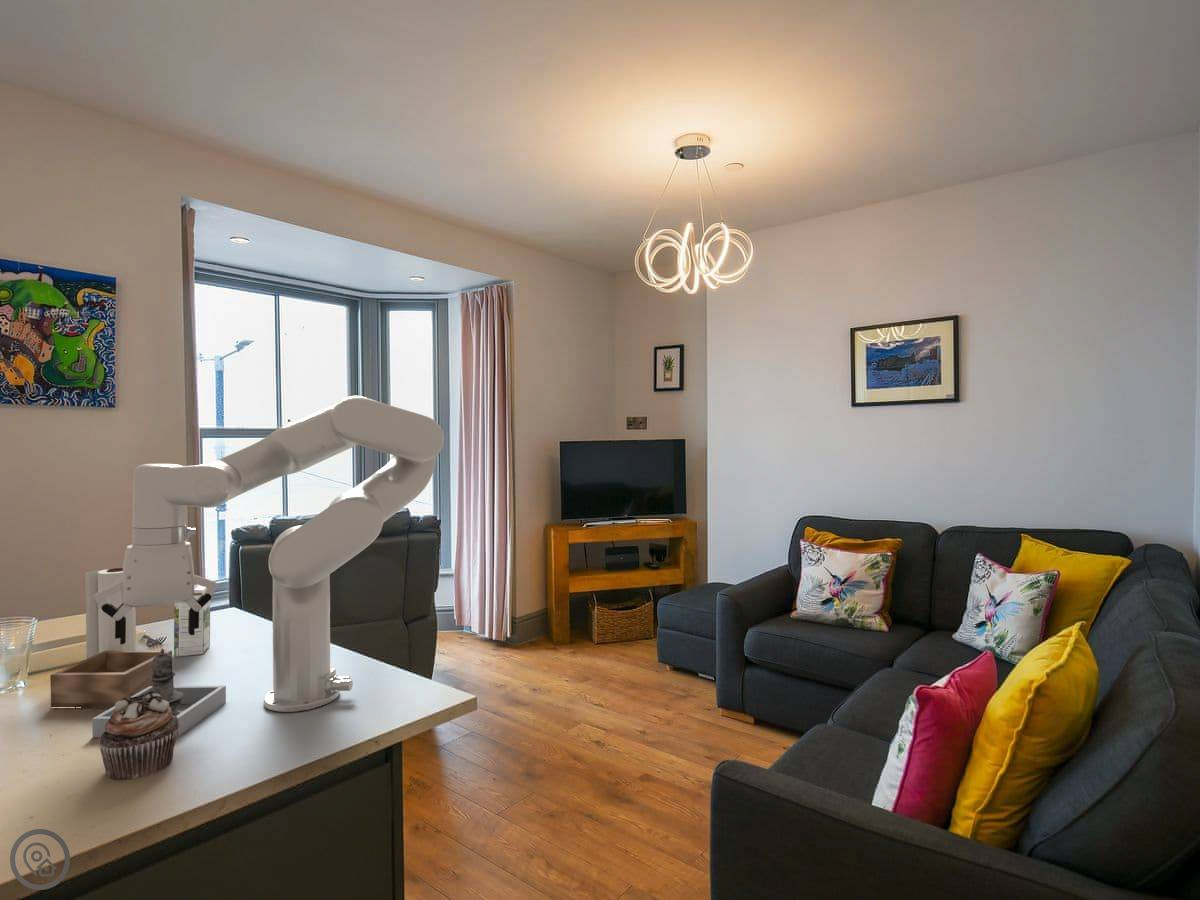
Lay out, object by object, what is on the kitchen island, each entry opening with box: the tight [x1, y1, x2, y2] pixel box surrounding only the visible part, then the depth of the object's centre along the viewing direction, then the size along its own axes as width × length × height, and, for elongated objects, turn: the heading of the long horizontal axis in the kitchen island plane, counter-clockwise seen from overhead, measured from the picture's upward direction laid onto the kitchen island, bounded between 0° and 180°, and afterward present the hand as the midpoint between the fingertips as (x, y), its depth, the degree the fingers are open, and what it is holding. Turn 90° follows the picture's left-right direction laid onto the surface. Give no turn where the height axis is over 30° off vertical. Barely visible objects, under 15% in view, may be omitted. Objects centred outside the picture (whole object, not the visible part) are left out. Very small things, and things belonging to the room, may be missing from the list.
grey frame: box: [91, 685, 227, 738], centre depth 111 cm, size 14×14×3 cm
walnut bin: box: [49, 649, 173, 709], centre depth 122 cm, size 13×13×6 cm
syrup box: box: [173, 584, 211, 657], centre depth 146 cm, size 6×6×14 cm
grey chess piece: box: [150, 648, 184, 716], centre depth 111 cm, size 6×6×12 cm
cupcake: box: [98, 691, 180, 781], centre depth 95 cm, size 10×10×10 cm
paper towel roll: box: [84, 567, 137, 659], centre depth 131 cm, size 7×6×21 cm
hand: (157, 637), depth 111 cm, fingers open, 9 cm apart
